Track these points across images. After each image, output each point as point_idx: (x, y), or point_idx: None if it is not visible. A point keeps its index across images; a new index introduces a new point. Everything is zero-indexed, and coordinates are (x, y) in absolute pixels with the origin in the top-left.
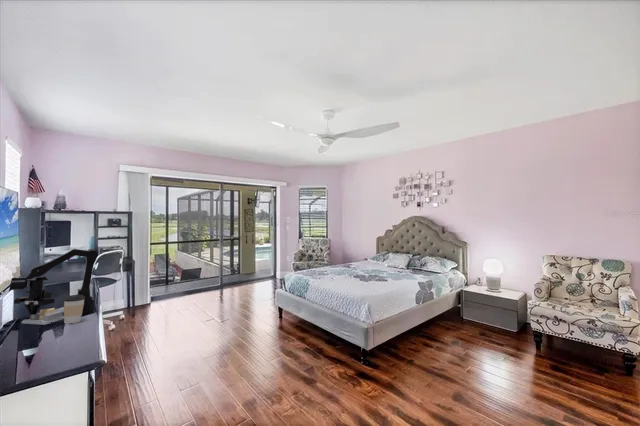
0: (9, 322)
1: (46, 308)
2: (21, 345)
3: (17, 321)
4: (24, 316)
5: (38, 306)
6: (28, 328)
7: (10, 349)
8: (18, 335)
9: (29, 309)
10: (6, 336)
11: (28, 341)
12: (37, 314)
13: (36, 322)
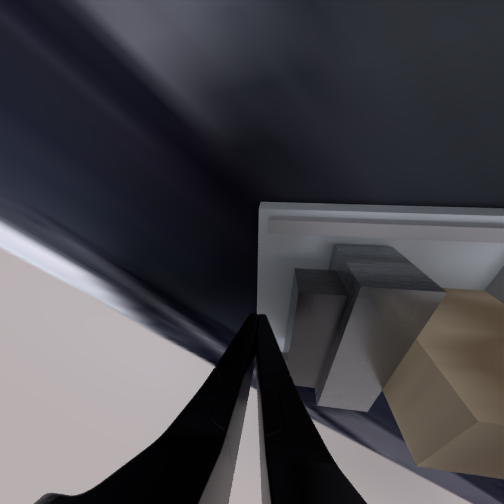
0: (161, 327)
1: (492, 441)
2: (493, 490)
3: (182, 311)
4: (52, 193)
5: (312, 463)
6: (385, 399)
7: (474, 498)
8: None
9: (239, 437)
10: (368, 447)
11: (499, 479)
12: (371, 400)
13: None
